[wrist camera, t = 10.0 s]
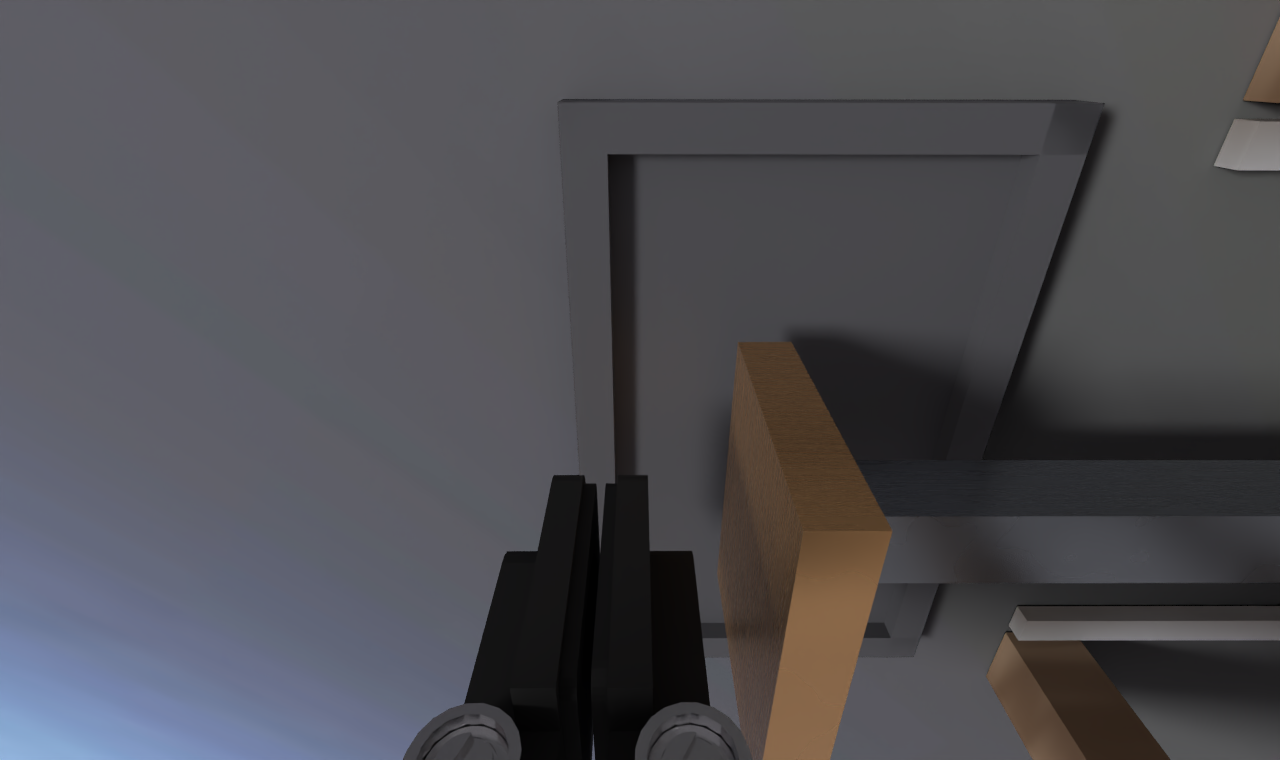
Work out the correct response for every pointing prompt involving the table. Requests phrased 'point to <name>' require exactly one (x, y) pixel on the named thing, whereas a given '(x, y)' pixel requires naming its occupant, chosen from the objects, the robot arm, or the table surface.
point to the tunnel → (1050, 635)
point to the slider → (933, 539)
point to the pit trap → (802, 286)
